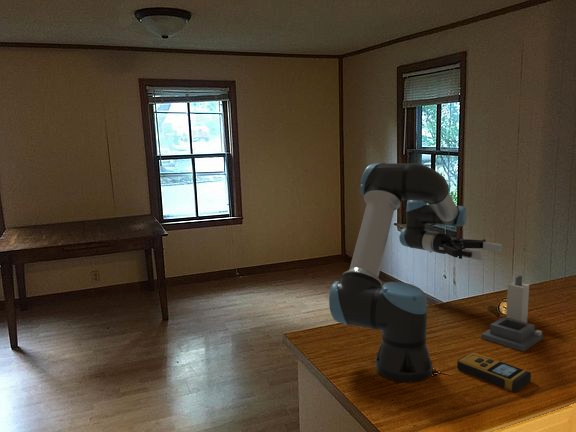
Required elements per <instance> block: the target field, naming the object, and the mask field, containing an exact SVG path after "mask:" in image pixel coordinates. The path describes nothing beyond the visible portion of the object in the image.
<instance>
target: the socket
mask: <svg viewBox="0 0 576 432" xmlns="http://www.w3.org/2000/svg"><path fill="white" fill-rule="evenodd" d="M535 326H536V324H532V323H528V322H527V323H525V322H522V321H518V320H514V319H511V318H507V317H506V316H503V317H502V318H499V319H497V320H496V321H494V322H492V323H490V324H489V327H490V329H487V330H485V331H484V332H482V333H480V334H481V335H480V337H481V339H483V340H485V341H489V342H492V343H494V342H495V344H498V345H501V346H504V347H507V348H510V349H513V350H516V351H520V352H525V351H527V350H528V349H529V348H531V347H533V346H534V345H536V344H537V343H539V342H540V341H542V340H543V338H544V334H543V331H542V330H539V329H535V328H536V327H535Z"/></svg>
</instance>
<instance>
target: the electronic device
mask: <svg viewBox="0 0 576 432" xmlns="http://www.w3.org/2000/svg"><path fill="white" fill-rule="evenodd" d="M456 367H457V370H458V371H460V372H462V373H465V374H467V375H470V376H473V377H475V378H477V379H480V380H483V381H485V382H487V383H490V384H492V385H494V386H498V387H500V388H503V389H506V390H508V391H512V392H514V393H517V392H519V391H520V390H522V389H523V388H525V387H526V386H527V385H528V384H530V383H531V381H532V372H531V371H528V370H525V369H521V368H519V367H516V366H514V365H511V364H508V363H506V362H502V361H500V360H497V359H494V358H492V357H488V356H485V355H482V354H480V353H476V352H469V354H467V355H465V356H463V357H461V358H459V359H457V362H456Z"/></svg>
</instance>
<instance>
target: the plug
mask: <svg viewBox="0 0 576 432" xmlns="http://www.w3.org/2000/svg"><path fill="white" fill-rule="evenodd" d="M506 294H507V295H506V296H507V297H506V313H505V317H507V318H511V319H514V320H518V321H522V322H525V323H528V312H529V296H530V295H529V294H530V284H528V283H523V275H520V274H515V281H513V282H510V283H508V284H507V292H506Z"/></svg>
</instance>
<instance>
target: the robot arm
mask: <svg viewBox="0 0 576 432" xmlns="http://www.w3.org/2000/svg"><path fill="white" fill-rule="evenodd" d="M360 183H361V184H360V195H361V196H362V198H363V200H364V202H365V204H366V206H365V210H364V213H363V218H362V222H361V226H360V229H359V233H358V237H357V239H356V243H355V247H354V251H353V254H352V255H353V256H352V258H351V262H350V266H349V269H348V270H347V271H344V272H343V273H342V275H341V278H340V279H341V280H336V281H334V282H333V283H332V284H331V286H330V288H329V289H330V290H329V296H328V297H329V298H328V305H329V306H328V307H329V312H330V314H331V317H332V319H334V321H335V322H336V323H340V324H345V325H347V326H354V327H361V328H364V329H365V328H366V329H372V330H377V331H381V342H380V346H379V349H378V351H377V354H376V356H375V370H376V372H377V373H378V374H379V375H381V376H382V377H384V378H386V379H387V380H388V379H389V380H391V381H396V382H399V383H416V382H417V383H419V382H422V381H424V380H426V379H429V378H430V377H431V376H432V374H433V361H432V359H431V355H430V353H429V352H430V351H429V349H428V345H427V324H428V323H427V318H428V315H427V313H428V306H427V305H428V304H427V303H428V302H427V296H426V293H425V292H424V290H422V289H421V288H420V287H418V286H416V285H414V284H411V283H406V282H402V281H396V282H395V281H387V282H386V283H382V282H381V280H380V279H379V275H380V271H381V269H382V268H381V267H382V263H383V258H384V254H385V251H386V247H387V242H388V238H389V233H390V228H391V224H392V221H393V217H394V216H393V215H394V213H395V211H396V210H398V209H400V207H401V205H402V201H407V202H406V210H405V220H406V222H405V223H406V227H404V228H402V229H401V230H400V232H399V233H400V234H399V235H398V237H399V242H400V244H401V245H402V246H403V247H408V248H410V249H416V250H417V249H418V250H423V251H427V252H429V253H437V254H441V255H442V254H443V255H444V254H445V255H446V254H447V255H448V256H451V257H453V258H458V259H460V260H462V259H463V257H464V258H469V259H473V260H479V261H482V260H483V251H478V250H473V249H481V250H484V251H490V252H497V253H502V252H503V251H502V250H503V249H502V245H503V244H500V243H493V242H488V241H487V240H486V239H485V238H484V239H470V238H468V239H467V238H455V239H454V238H453V239H452V237H451V236H450V235H449V234H448V233H443V232H437V231H430V230H426V229H427V225H435V226H437V225H439V226H450V227H451V226H452V227H464V226H465V225H466V222H467V213H468V212H467V208H466V207H465V206H462V205H456V203H455V201H454V200H453V198H452V196H451V194H450V188H449V183H448V182H447V180H446V178H445V177H444V176H443V175H442V174H441V173H440V172H438V171H437V170H435V169H434V168H431V167H429V166H427V165H424V164H422V163H415V162H414V163H411V162H410V163H407V162H406V163H401V162H400V163H391V162H390V163H388V162H387V163H386V162H378V163H377V162H376V163H372V164H371V163H370V164H369V165H367V167H366V168H365V169H364V171H363V173H362V176H361V179H360Z"/></svg>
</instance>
